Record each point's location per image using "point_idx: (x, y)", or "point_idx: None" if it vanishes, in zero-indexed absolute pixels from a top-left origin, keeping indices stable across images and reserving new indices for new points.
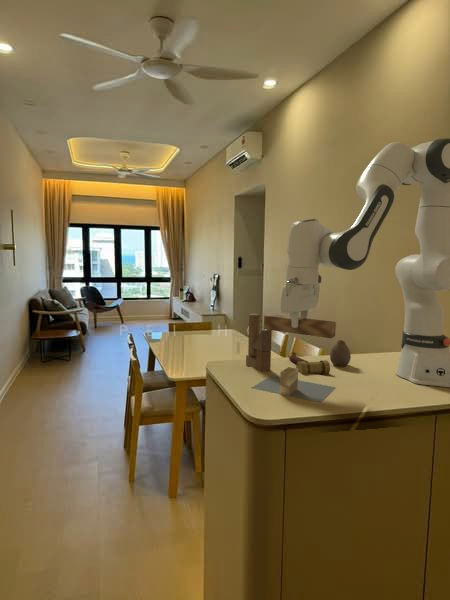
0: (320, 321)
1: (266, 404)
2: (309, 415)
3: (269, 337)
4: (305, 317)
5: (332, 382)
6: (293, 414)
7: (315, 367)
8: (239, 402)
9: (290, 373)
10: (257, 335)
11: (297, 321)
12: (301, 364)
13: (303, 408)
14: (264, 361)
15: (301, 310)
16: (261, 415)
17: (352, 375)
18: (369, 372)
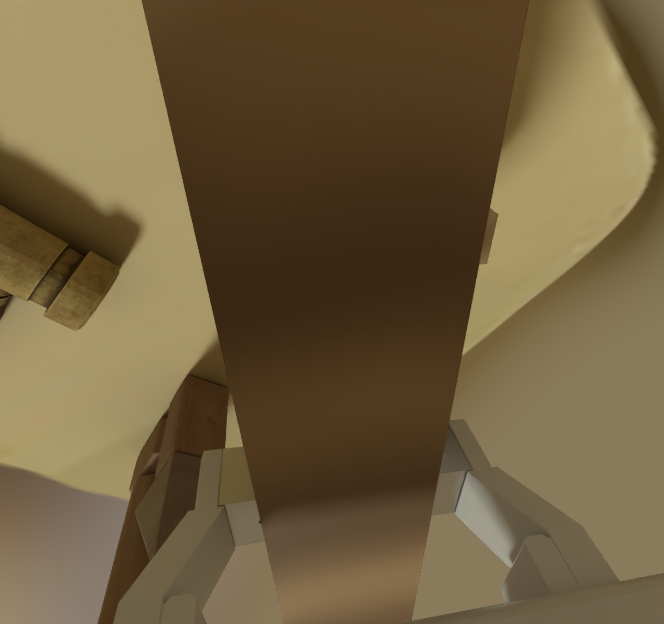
0: (381, 289)
1: (530, 219)
2: (595, 19)
3: (176, 521)
4: (212, 530)
5: (75, 82)
6: (598, 88)
7: (21, 235)
8: (538, 292)
9: (491, 216)
10: (141, 570)
11: (499, 469)
12: (99, 298)
13: (527, 77)
14: (213, 420)
15: (594, 604)
16: (628, 185)
17: None
18: None
